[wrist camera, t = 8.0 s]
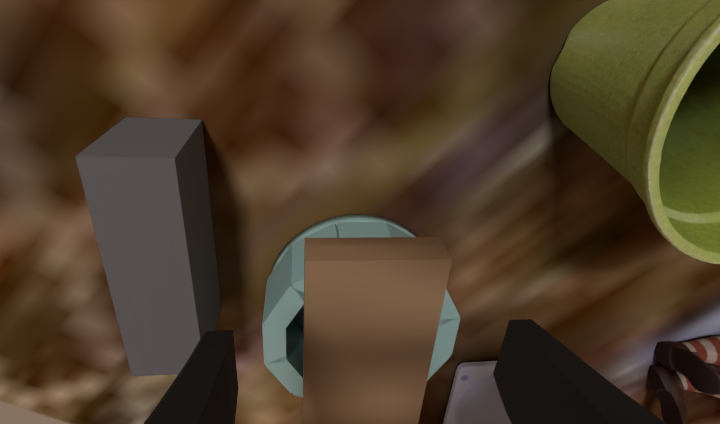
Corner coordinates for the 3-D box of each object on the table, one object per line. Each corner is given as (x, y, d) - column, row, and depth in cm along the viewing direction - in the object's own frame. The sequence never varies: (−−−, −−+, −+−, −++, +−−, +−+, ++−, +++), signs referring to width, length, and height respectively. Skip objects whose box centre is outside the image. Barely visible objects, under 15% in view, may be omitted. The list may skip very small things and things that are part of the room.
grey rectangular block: (221, 304, 22) (205, 372, 19) (161, 306, 22) (132, 376, 18) (201, 119, 18) (174, 158, 14) (125, 117, 17) (75, 156, 13)
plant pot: (480, 27, 18) (618, 61, 10) (701, -108, 16) (1054, -187, 9) (545, 197, 22) (675, 310, 14) (724, 101, 21) (970, 170, 13)
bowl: (421, 344, 26) (441, 400, 22) (271, 350, 24) (266, 411, 21) (446, 214, 22) (474, 258, 18) (265, 213, 20) (259, 261, 17)
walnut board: (407, 414, 22) (414, 442, 21) (302, 421, 22) (302, 451, 20) (439, 236, 17) (452, 259, 16) (304, 237, 17) (305, 261, 15)
